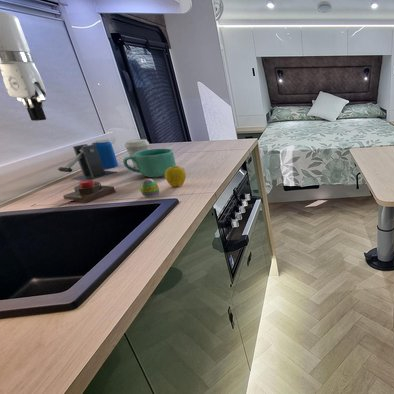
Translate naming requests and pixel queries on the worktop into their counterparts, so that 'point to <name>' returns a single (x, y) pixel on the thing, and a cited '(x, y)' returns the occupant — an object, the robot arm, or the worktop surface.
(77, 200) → the button block
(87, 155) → the toaster bracket
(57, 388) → the worktop surface
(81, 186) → the stop button
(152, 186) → the egg
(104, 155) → the beverage can
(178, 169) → the apple
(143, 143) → the coffee cup
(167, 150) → the mug
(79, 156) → the toaster lever
